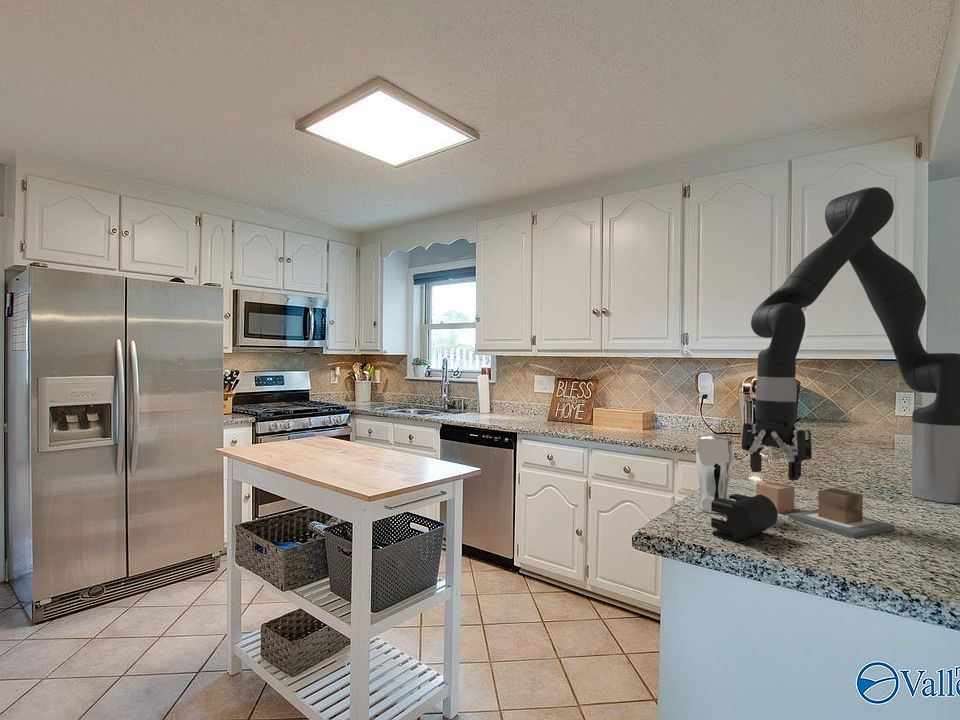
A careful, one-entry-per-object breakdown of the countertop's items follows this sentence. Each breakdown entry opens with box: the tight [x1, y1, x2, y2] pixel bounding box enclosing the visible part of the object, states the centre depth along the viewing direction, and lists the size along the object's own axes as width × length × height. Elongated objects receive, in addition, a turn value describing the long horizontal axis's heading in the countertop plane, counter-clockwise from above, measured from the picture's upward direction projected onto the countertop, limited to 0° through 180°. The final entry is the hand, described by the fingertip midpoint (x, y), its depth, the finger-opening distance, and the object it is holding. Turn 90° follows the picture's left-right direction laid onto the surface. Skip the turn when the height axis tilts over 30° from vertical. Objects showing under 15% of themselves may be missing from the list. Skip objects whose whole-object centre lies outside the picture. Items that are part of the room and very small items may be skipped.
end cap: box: [710, 493, 779, 543], centre depth 91 cm, size 10×7×7 cm
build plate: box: [788, 509, 896, 539], centre depth 98 cm, size 12×12×1 cm
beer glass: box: [695, 434, 734, 515], centre depth 107 cm, size 7×7×15 cm
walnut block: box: [817, 488, 864, 524], centre depth 98 cm, size 5×5×5 cm
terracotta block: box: [755, 481, 796, 513], centre depth 109 cm, size 5×5×5 cm
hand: (774, 475), depth 108 cm, fingers open, 8 cm apart
